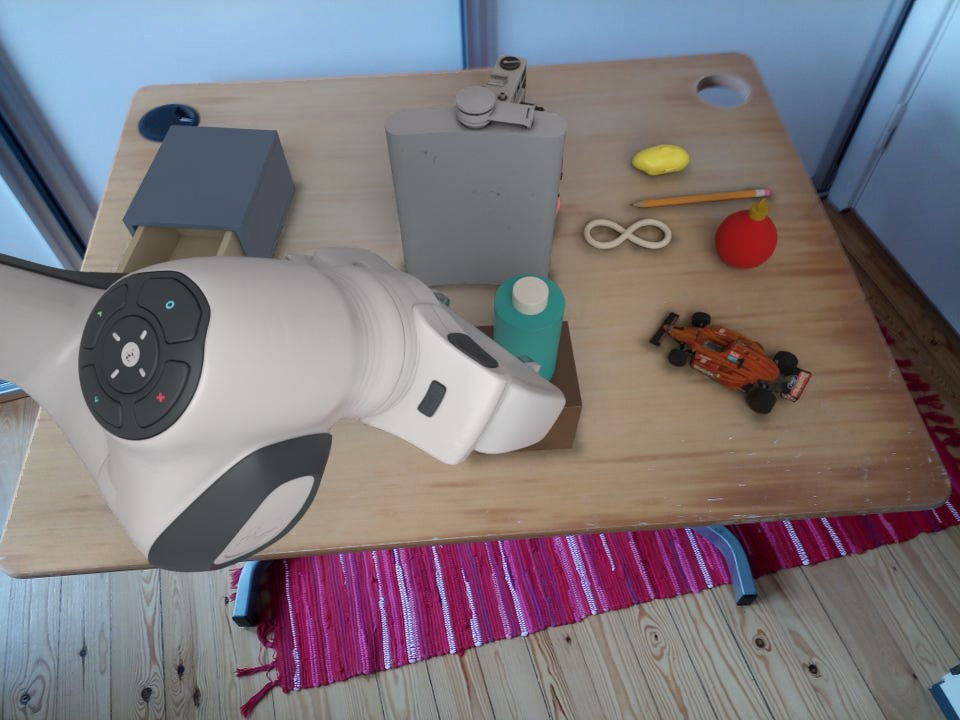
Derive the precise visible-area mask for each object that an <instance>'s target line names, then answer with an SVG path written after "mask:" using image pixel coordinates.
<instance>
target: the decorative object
mask: <svg viewBox="0 0 960 720" xmlns="http://www.w3.org/2000/svg"><path fill="white" fill-rule="evenodd" d="M598 226H603V227H607V228H609V229H612V230H614V231H616V232H617V233H619V234H620V235H619V236H618V237H616V238H615V239H613V240H611V241H606V242H605V241H603V242H602V241H598V240H596V239H595V238H593V236H592V235H591V231H592V229H593V228H594V227H595V228H596V227H598ZM645 226H654V227H657V228H659V229H660V230H661V231H662V232H663V234H664V238H663V239H662V240H659V241H648V240H646V239H643V238H640V237H639V236H636V235H635V234H633V233H634V232H635V231H636V230H638V229H640V228H642V227H645ZM582 234H583V238H584V240H585V241H586V242H587V243H588V244H589V245H590V246H592V247H594V248H596V249H601V250H609V249H613V248H616V247H618V246H619V245H621V244H622V243H624V241H626V240H628V241H630V242H632V243H634V244H635V245H637V246H640V247H643V248H645V249H651V250H653V249H654V250H656V249H662V248H664V247H666V246H667V245H669V243H670V242H671V240H672V230H671V229H670V227H669V226H668V225H667V224H666V223H664V222H663V221H661V220H659V219H654V218H644V219H643V218H642V219H639V220H638V221H637V220H636V221H635V222H633V223H632V224H630V226H628V227H627V228H624V226H622V225H620V224H619V223H617V222H616V221H615V222H614V221H613V220H610V219H606V218H596V219H593V220H591V221H589V222H587V223H586V225H585V226H584V229H583V233H582Z"/></svg>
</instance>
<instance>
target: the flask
mask: <svg viewBox="0 0 960 720" xmlns="http://www.w3.org/2000/svg"><path fill="white" fill-rule="evenodd" d="M454 99H455V105H444V106H431V107H417V108H404V109H399V110H398V109H397V110H395V111H393V112H391V113H389V114H388V115H387V117H386V118H385V120H384V124H383V125H384V131H385V138H386V144H387V150H388V151H387V152H388V158H389V164H390V171H391V178H392V184H393V192H394V198H395V204H396V205H395V206H396V211H397V212H396V213H397V218H398V226H399V231H400V238H401V244H402V245H401V246H402V252H403V258H404V264H405V273H408V274H410V275H412V276H414V277H416V278H417V279H419V280H420V281H422V282H423V283H424V284H425V285H426V286H427V287H436V286H437V287H438V286H447V285H489V286H490V285H491V286H501V285H502V284H503V283H504V282H505V281H507V280H508V279H510V278H512V277H515V276H519V275H526V274H531V275H538V276H542V277H545V278H547V279H549V275H550V274H549V273H550V267H551V266H550V264H551V259H552V248H553V240H554V232H555V225H556V224H555V223H556V217H557V215H556V209H557V201H558V193H559V194H560V185H561V184H560V183H561V180H560V176H561V168H562V160H563V161H564V152H565V143H566V135H567V134H566V133H567V122H566V121H565V118H563V116H561V115H560V114H559V113H555V112H551V111H545V112H544V111H535V110H534V106H531V105H523V104H515V103H508V102H500V101H495V95H494V94H493V92H492V91H491V90H489V89H488V88H485V86H480V85H471V86H467V87H463V88H462V89H460V90H458V92H457V93H456V95H455V98H454ZM562 169H563V168H562Z"/></svg>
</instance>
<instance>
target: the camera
mask: <svg viewBox="0 0 960 720" xmlns="http://www.w3.org/2000/svg"><path fill="white" fill-rule="evenodd" d="M527 63H528V60H527V59H526V58H525V57H519V56H513V55H506V54H500V55H499V56H498V57H497V60H496V62H495V64H494V67H493V69H492V70H491V73H490V77H489V79H488V80H487V83H486V85H485V86H484V87H485V88H488V89H489V90H491V91H492V92H493V94H494V95H495V101H500V102H508V103H515V104H516V103H519V104H523V105H531V106H534V110H535V111H544V112H546V109H545V108H544V107H543V106H538V105H537V104H536V103H531V102H526V89H527V88H526V87H527V65H528V64H527Z"/></svg>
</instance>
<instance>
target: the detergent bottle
mask: <svg viewBox="0 0 960 720" xmlns="http://www.w3.org/2000/svg"><path fill="white" fill-rule="evenodd" d="M493 299H494V301H493V325H494V341H495V342H496V343H498V344H499V345H500V346H502V347H503V348H504V349H506V350H507V351H508V352H510V353H511V354H512V355H514V356H515V357H516V358H517V356H519V355H522V356H524V355H527V356H528V357H529V358H531V359H532V360H534V361H535V362H536V363H538V364H539V365H540V369H539V371H538V374H539V375H541V376H542V377H543V378H545V379H546V380H548V381H550V379H551V378H552V376H553V374H554V370H555V364H556V358H557V352H558V346H559V340H560V334H561V327H562V321H564V314H565V308H566V299H565V295H564V294H563V291H562V289H561V288H560V287H559V285H557V284H556V283H555V282H554V281H552V280H551V279H549V278H548V279H547V278H545V277H542V276H538V275H531V274H526V275H519V276H515V277H512V278H510V279H508V280H507V281H505V282H504V283H503V284H502V285H499V287H498V288H497V290H496V292H495V296H494V298H493Z"/></svg>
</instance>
